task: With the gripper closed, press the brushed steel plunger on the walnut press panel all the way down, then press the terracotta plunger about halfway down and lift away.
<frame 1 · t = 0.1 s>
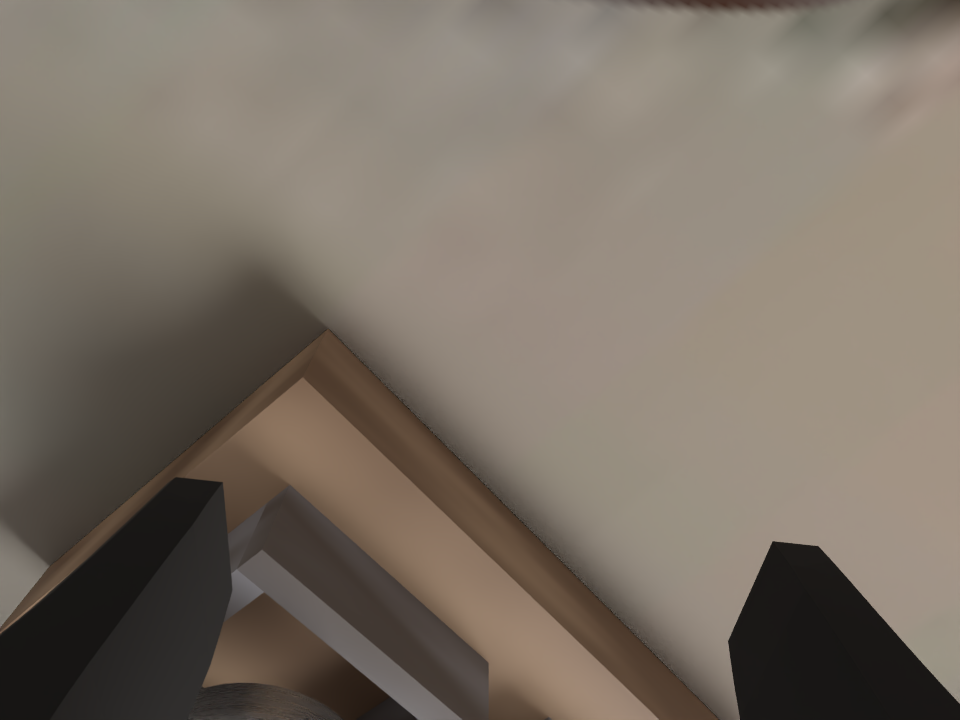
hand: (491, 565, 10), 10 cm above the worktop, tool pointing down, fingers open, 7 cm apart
press panel: (427, 671, 25), on the worktop
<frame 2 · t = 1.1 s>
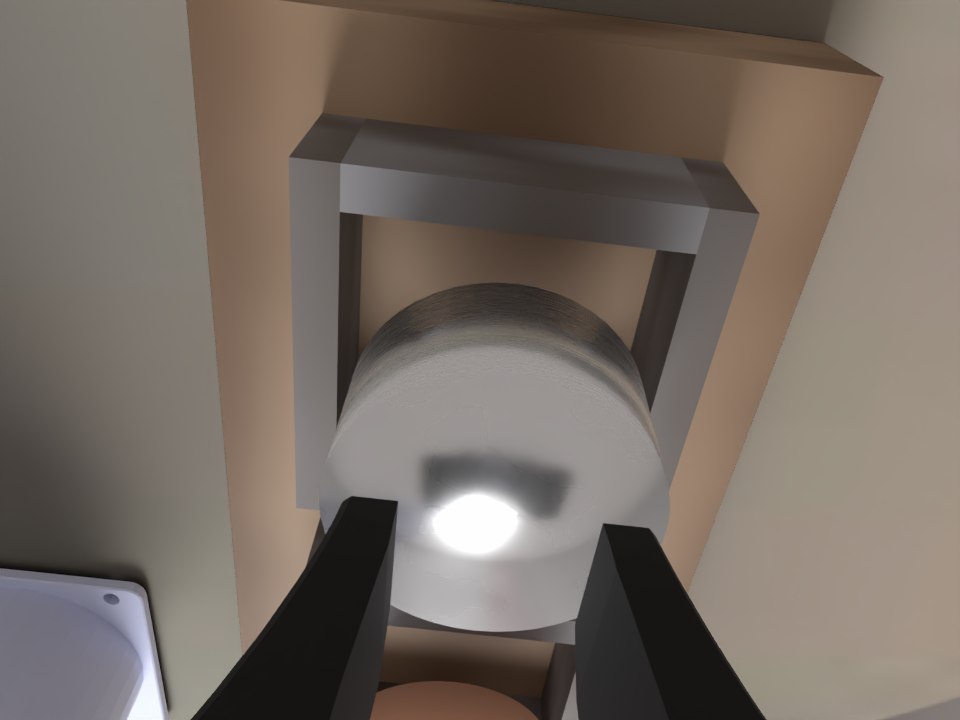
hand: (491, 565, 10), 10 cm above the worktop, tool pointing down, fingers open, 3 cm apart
steel plunger: (494, 461, 12), point 8 cm above the worktop, slide at 0.0 cm
press panel: (477, 417, 21), on the worktop
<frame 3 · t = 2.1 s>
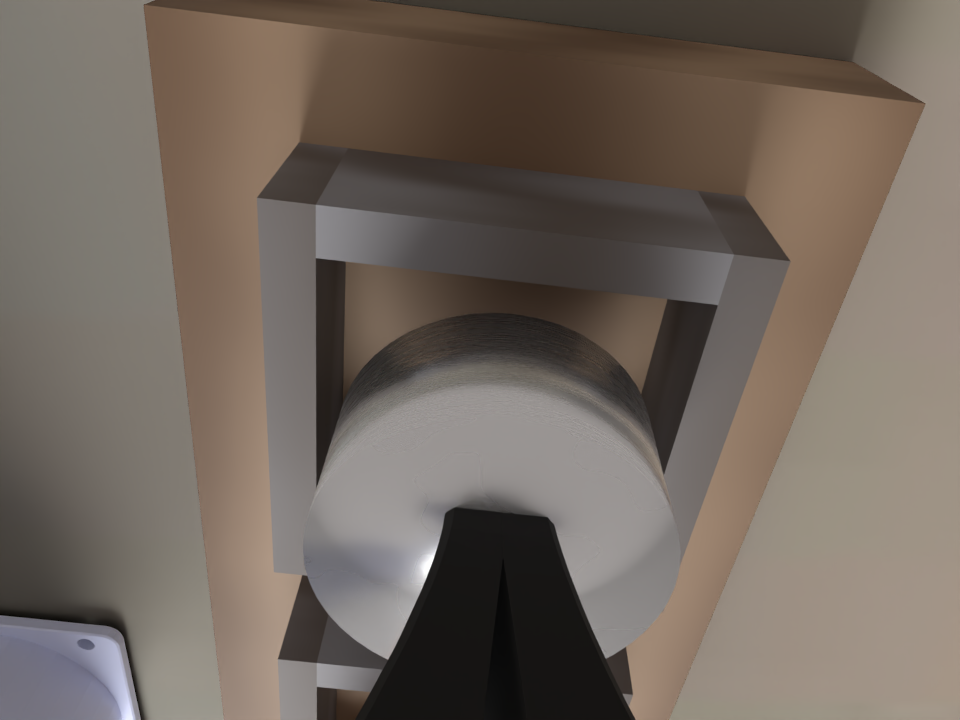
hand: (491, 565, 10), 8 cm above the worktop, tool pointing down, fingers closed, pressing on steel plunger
steel plunger: (492, 502, 11), point 7 cm above the worktop, slide at 0.8 cm, touching gripper
press panel: (474, 457, 20), on the worktop
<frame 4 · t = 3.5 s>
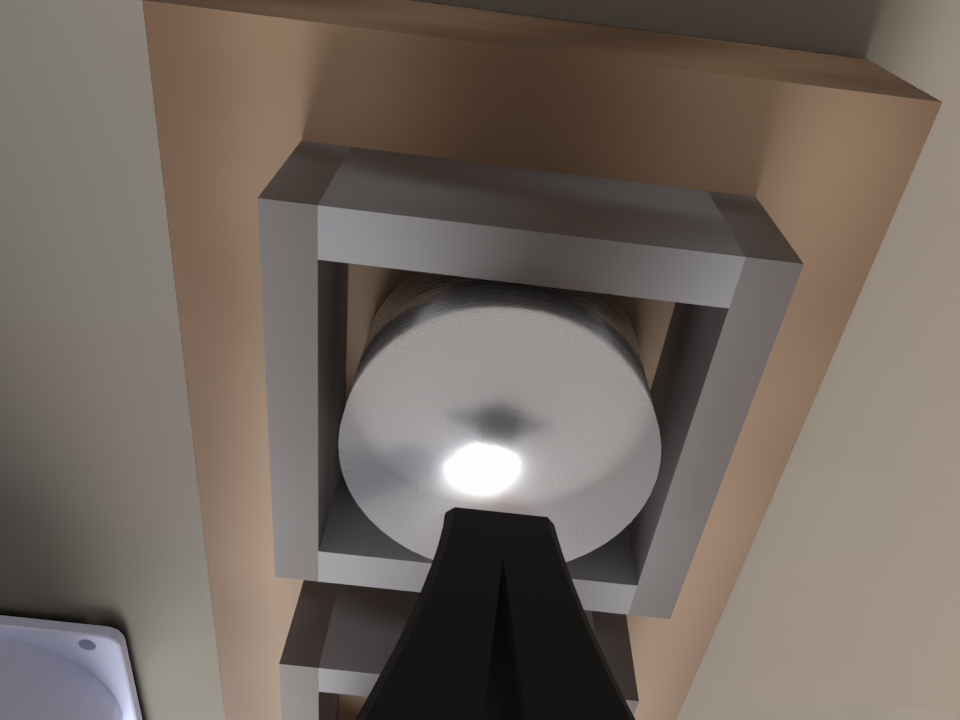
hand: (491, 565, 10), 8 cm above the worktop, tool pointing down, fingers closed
steel plunger: (499, 413, 13), point 5 cm above the worktop, slide at 3.1 cm
press panel: (478, 459, 20), on the worktop
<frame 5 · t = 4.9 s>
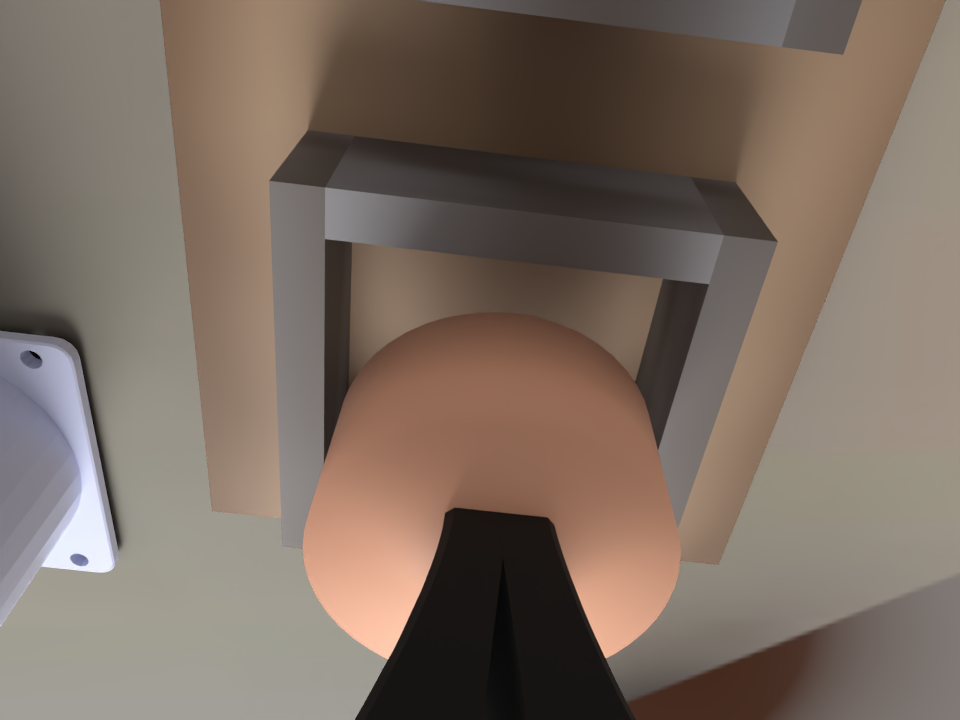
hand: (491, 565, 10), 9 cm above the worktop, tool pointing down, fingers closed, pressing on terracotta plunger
terracotta plunger: (492, 502, 11), point 8 cm above the worktop, slide at 0.1 cm, touching gripper
press panel: (531, 42, 15), on the worktop
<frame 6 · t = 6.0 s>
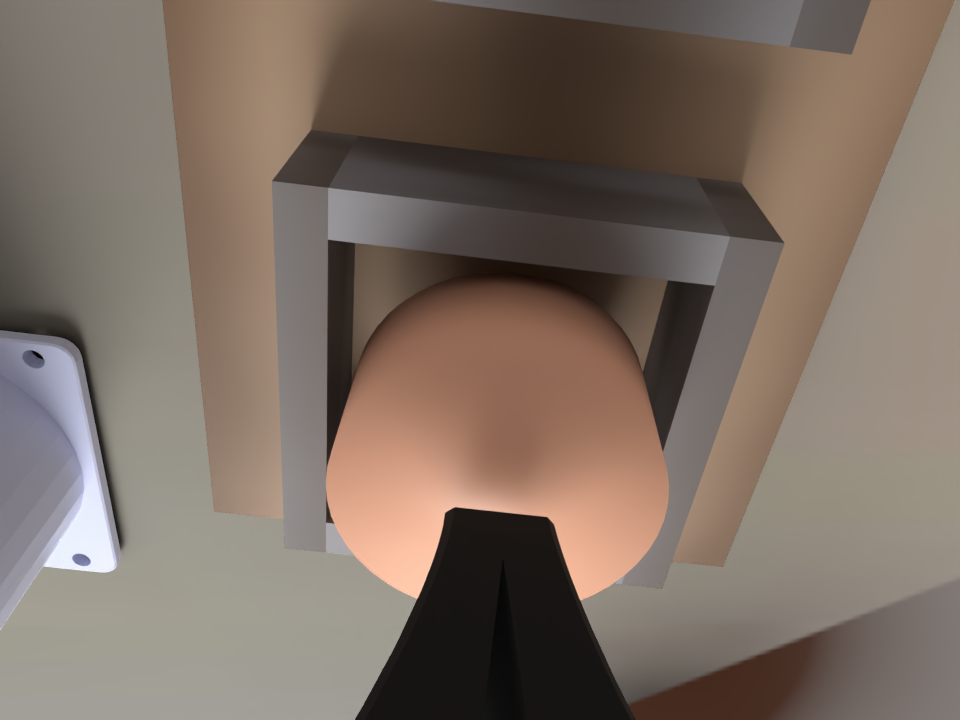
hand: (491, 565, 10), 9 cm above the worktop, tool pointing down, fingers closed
terracotta plunger: (497, 447, 12), point 6 cm above the worktop, slide at 1.5 cm
press panel: (535, 41, 15), on the worktop
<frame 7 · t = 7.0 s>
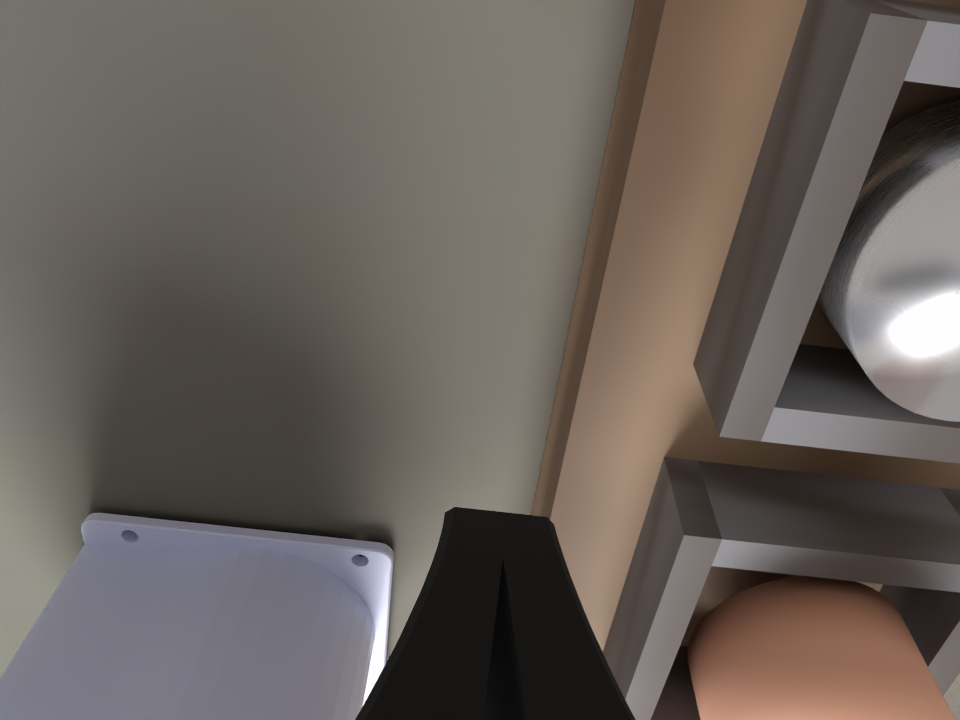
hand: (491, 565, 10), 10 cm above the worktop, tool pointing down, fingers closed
terracotta plunger: (810, 695, 17), point 6 cm above the worktop, slide at 1.5 cm
press panel: (797, 359, 20), on the worktop
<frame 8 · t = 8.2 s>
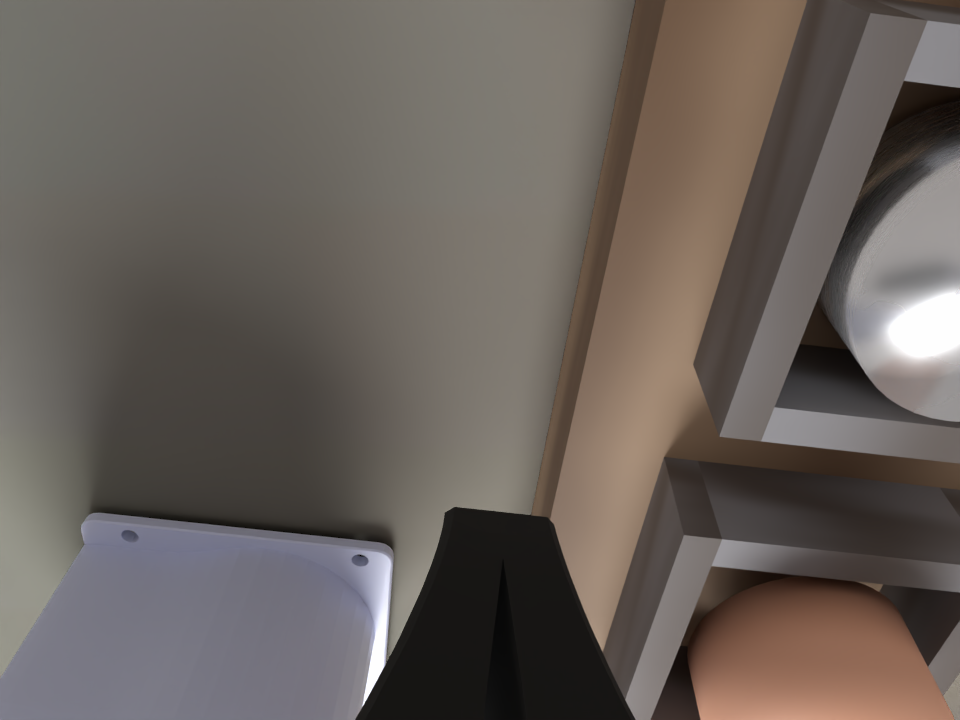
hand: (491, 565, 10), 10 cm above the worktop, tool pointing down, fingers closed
terracotta plunger: (810, 695, 17), point 6 cm above the worktop, slide at 1.5 cm
press panel: (797, 359, 20), on the worktop
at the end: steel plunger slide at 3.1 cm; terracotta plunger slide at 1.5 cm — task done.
